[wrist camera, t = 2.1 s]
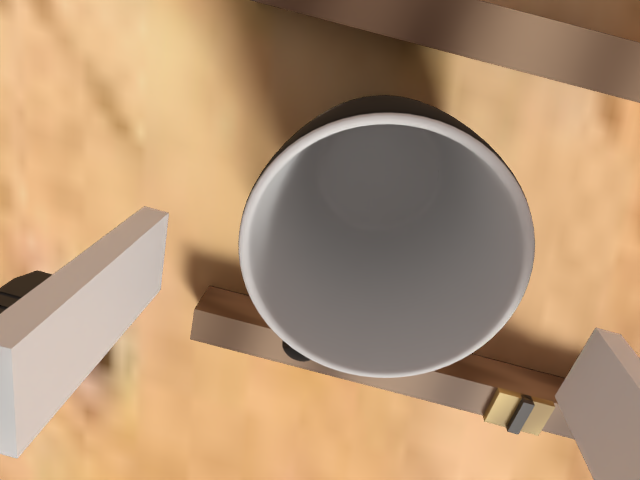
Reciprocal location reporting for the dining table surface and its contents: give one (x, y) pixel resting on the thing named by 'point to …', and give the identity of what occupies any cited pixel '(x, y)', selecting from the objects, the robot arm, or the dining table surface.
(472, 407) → the frame
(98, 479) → the dining table surface
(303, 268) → the mug
